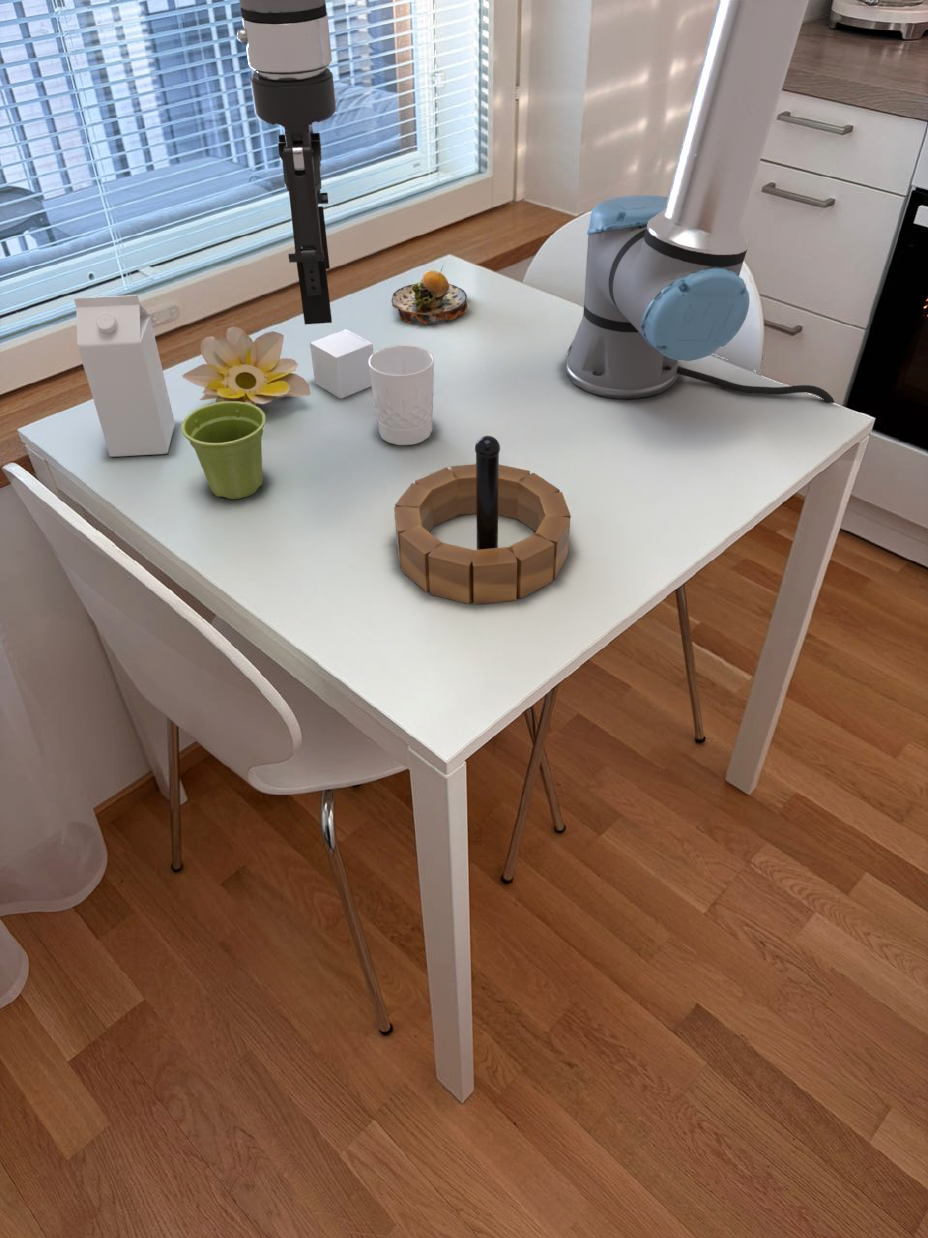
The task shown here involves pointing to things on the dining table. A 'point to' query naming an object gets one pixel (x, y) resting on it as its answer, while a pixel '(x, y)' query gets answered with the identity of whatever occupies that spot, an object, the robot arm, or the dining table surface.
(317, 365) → the white cube
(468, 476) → the ring
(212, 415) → the plant pot
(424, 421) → the white cup
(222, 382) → the decorative flower
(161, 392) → the milk carton
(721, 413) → the dining table surface
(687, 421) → the dining table surface
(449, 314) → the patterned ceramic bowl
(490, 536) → the peg
